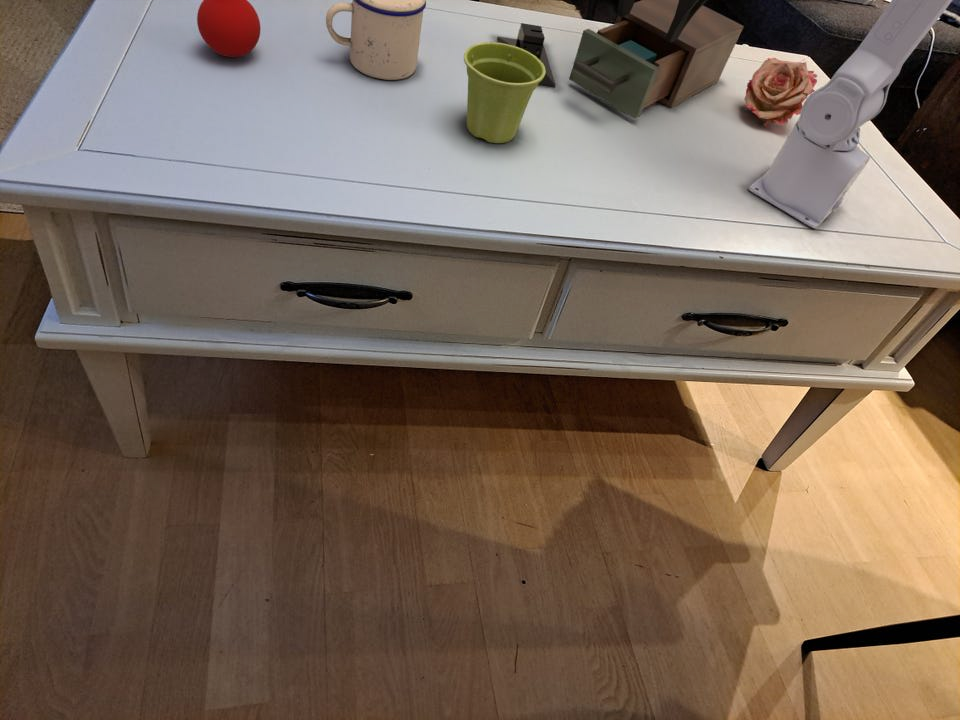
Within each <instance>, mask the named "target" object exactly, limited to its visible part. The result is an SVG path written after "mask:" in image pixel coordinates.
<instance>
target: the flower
mask: <svg viewBox="0 0 960 720" xmlns="http://www.w3.org/2000/svg"><path fill="white" fill-rule="evenodd" d="M817 78H818V74H816V73H815V71H814V70H809V69H808V67H807V61H804V62H802V61H801V62H799V61H796V62H795V61H788V60H781V59H778V58H776V57H771V58H769V57H767V59H765V60H764V61H763V63H762V64H761V65H760V67H759V68H758V69H757V70H756V71H754V73H753V74H752V78H751V79H748V82H747V83H746V84H747V85H746V89H745V97H744V99H743V100H744V102H745V105H746V108H744V109H743V110H744V111H751V113H753V114H754V115H756V116H757V117H758V118H759V119H764V120H767V121H766V122H765V123H764V124H763V127H765V128H767V126H768V125H769V124H770V123H772V124H773V123H775V124H777V125H781V126H783V125H784V124H785V125H788V124H789V122H788V120H791V119H792V118H793V117H794V115H795V116H799V115H800V113H801V109H802V106H803V103H804V102H805V101H806V99H807V98H808V97H809V96H810V95H811V94H812V93H813V92H814V91H815V89H814V88H815V86H816V84H817V83H818V79H817Z"/></svg>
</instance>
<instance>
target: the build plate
mask: <svg viewBox="0 0 960 720" xmlns="http://www.w3.org/2000/svg"><path fill="white" fill-rule="evenodd" d="M545 38H546V37H545V35H544V33H543V28H542V26H541V25H535V24H529V23H523V22H521V23H520V27H519V29H518V33H517V38H511V37H504V36H500V35H499V36H497V37H496V42H497V43H503V44H508V45H512V46H516V47H518V48H521V49H524V50H526V51H528V52H529V53H531V54H533V55H534V56H536V57H537V58H538V59H539V60H540V61H541V62H542V63H543V65H544V67H545V70H546V73H545V76H544V78H543V79H542V80H541V81H540V82H539V83H538V85H537V87H544V88H552V89H555V88H556V85H557V84H556V82H555V81H556V80H555V78H554V75H553V72H552V69H551V64H550V62H549V61H550V60H549V58H548V55H547V51H546V48H545V45H544V43H545V40H546V39H545Z"/></svg>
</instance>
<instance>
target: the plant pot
mask: <svg viewBox="0 0 960 720" xmlns="http://www.w3.org/2000/svg"><path fill="white" fill-rule="evenodd" d="M463 62H464V64H465V66H466V74H467V99H466V100H467V101H466V102H467V105H466V128H467V130H468V132H469V133H470V134H471V135H472V136H473V137H475V138H479V139H480V138H481V139H484V140H485V141H486V142H487V143H491V144H503V143H508V142H511V141H512V140H513V138H514V137H515V136H516V135H517V132H518V129H519V128H520V127H519V126H520V125H521V122H522V119H523V117H524V115H525V112H526V109H527V106H528V105H529V103H530V100H531V97H532V95H533V94H534V93H533V92H534V91H535V90H536V89H537V87H538V86H537V85H538V83H539V82H540V81H541V80H542V79H543V78H544V76H545V73H546V70H545V67H544V65H543V63H542V62H541V61H540V60H539V59H538V58H537V57H536V56H534V55H533V54H531V53H529V52H528V51H526V50H524V49H521V48H518V47H516V46H512V45H508V44H503V43H498V42H497V41H496V42H494V41H490V42H488V41H485V42H480V43H474V44H472V45H470V46H468V48H466V49H465V51H464V53H463Z"/></svg>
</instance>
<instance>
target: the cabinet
mask: <svg viewBox="0 0 960 720" xmlns="http://www.w3.org/2000/svg"><path fill="white" fill-rule="evenodd" d="M678 2H679V0H640V1H639V0H638V1H635V2H634V5H633V7H632V9H631V12H630V14H628V15H625V16H622V17H621V16H619V15H618V14H617V16H616V19H615V22H614V24H616V23H619V22H621V21H624V20H627V19H629V20H631V21H633V22H634V23H636V24H638V25H640V26H642V27H644V28H646V29H647V30H649V31H651V32H653V33H655V34H657V35H659V36H660V37H662V38H664V39H666V36H667V33H668V30H669V28H670V26H671V23H672V21H673V19H674V16H675V13H676V10H677V6H678ZM744 27H745V26H744V25H742V24H740V23H738V22H737V21H735V20H733V19H730V18H729V17H727V16H725V15H722V14H721V13H718V12H717V11H715V10H713V9H712V8H709V7H707V6H705V5H704V4H703V5H702V6H701V7H700V8H699V10H698V11H697V12H696V13H695V14H694V15H693V17H692V18H691V19H690V21H689V22H688V23H687V25H686V26H685V28H684V29H683V31H682V32H681V34H680V36H679V37H678V39H677V40H675V41H673V42H672V43H673V44H675V45H677V46H679V47H681V48H683V49H685V50H686V51H688V52H689V54H688V56H687V58H686V61H685V63H684V65H683V68H682V70H681V72H680V75H679V77H678V79H677V82H676V84H675V87H674V89H673V91H672V93H671V94H669V95H668V96H666V97H664V98H662V99H660V100H658V101H657V102H660V103H661V104H663V105H664V106H666V107H668V108H670V109H672V108H674V107H675V106H677V105H680V104H681V103H683V102H684V101H686V100H688V99H690V98H692V97H694V96H695V95H697V94H699V93H701V92H702V91H704V90H707V89H708V88H710V87H712V86H713V85H715V84H717V83H718V82H719V80H720V78H721V76H722V74H723V72H724V69H725V67H726V65H727V63H728V61H729V59H730V57H731V55H732V52H733V50H734V48H735V46H736V44H737V42H738V40H739V39H740V38H739V37H740V35H741V33H742V31H743V29H744Z"/></svg>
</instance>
